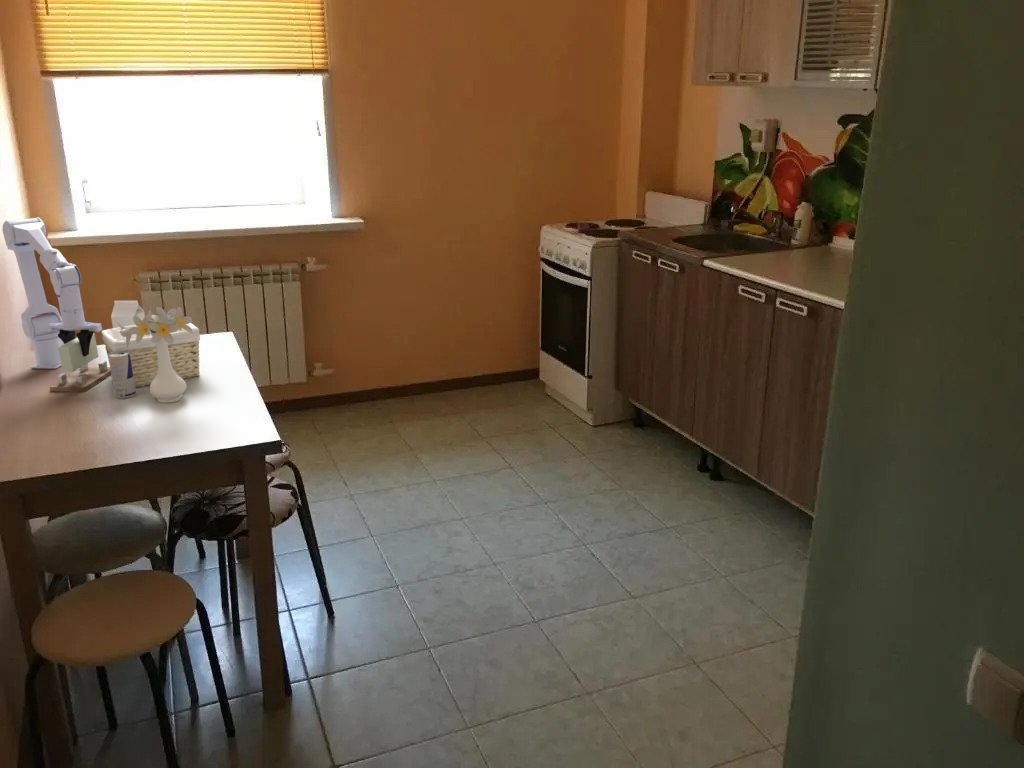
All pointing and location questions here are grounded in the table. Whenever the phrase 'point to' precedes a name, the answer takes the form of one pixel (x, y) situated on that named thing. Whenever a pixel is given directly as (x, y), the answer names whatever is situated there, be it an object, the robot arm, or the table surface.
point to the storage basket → (145, 353)
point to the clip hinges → (82, 378)
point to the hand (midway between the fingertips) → (79, 355)
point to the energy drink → (122, 375)
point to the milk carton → (126, 313)
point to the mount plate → (72, 380)
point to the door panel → (76, 354)
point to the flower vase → (161, 349)
